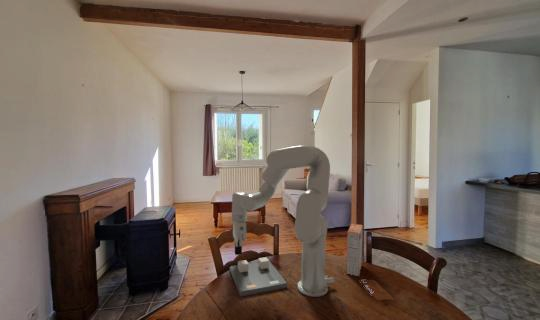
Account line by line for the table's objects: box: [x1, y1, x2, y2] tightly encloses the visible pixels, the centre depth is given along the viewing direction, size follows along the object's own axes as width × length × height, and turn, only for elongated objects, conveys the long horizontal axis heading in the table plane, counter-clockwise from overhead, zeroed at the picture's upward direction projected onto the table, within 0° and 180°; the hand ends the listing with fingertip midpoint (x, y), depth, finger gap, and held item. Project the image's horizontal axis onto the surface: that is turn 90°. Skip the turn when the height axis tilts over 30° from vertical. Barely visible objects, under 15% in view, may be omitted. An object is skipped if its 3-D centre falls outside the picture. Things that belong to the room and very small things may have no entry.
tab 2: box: [257, 256, 270, 269], centre depth 116 cm, size 4×4×4 cm
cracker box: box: [346, 223, 364, 277], centre depth 120 cm, size 14×6×21 cm, turn 154°
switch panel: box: [229, 260, 288, 297], centre depth 110 cm, size 20×22×2 cm
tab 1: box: [237, 259, 250, 272], centre depth 113 cm, size 4×4×4 cm
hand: (238, 253), depth 121 cm, fingers closed
